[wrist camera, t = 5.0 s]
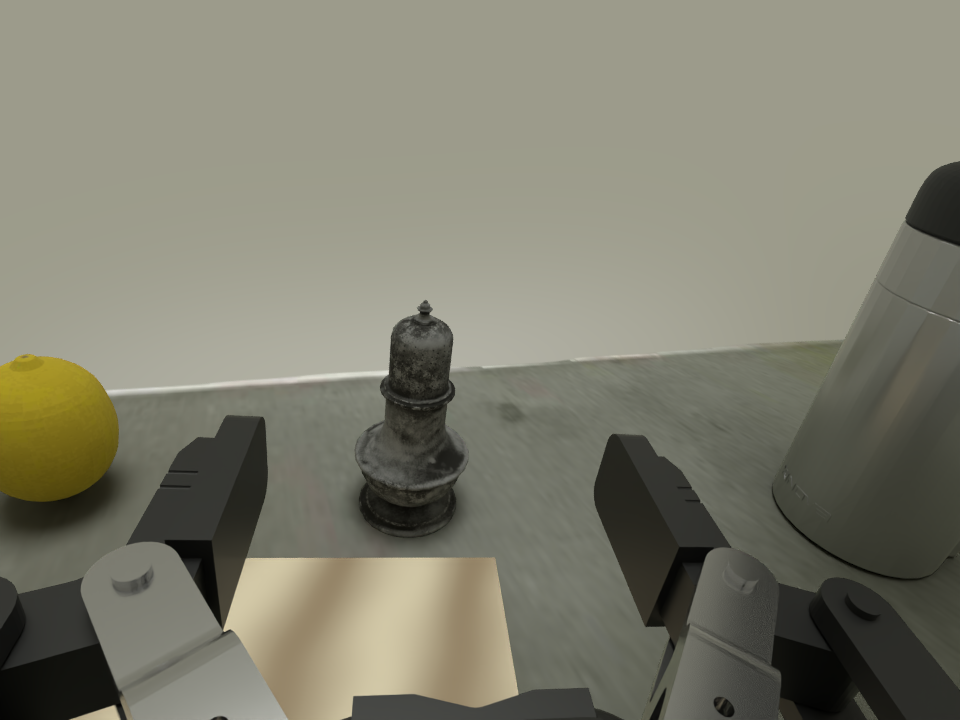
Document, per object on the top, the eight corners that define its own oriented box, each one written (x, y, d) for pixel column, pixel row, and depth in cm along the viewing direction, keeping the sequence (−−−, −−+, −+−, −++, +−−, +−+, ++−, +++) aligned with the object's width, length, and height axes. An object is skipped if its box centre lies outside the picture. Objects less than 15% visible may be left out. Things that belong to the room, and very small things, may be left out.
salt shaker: (356, 464, 33) (361, 272, 27) (455, 465, 34) (480, 280, 28) (350, 543, 28) (354, 326, 22) (467, 541, 29) (501, 333, 23)
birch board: (491, 574, 27) (495, 557, 26) (544, 907, 17) (552, 891, 16) (133, 577, 24) (127, 558, 24) (-70, 973, 14) (-87, 956, 13)
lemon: (152, 465, 30) (126, 335, 27) (89, 543, 26) (46, 398, 22) (47, 454, 30) (6, 321, 26) (-37, 531, 25) (-103, 382, 21)
